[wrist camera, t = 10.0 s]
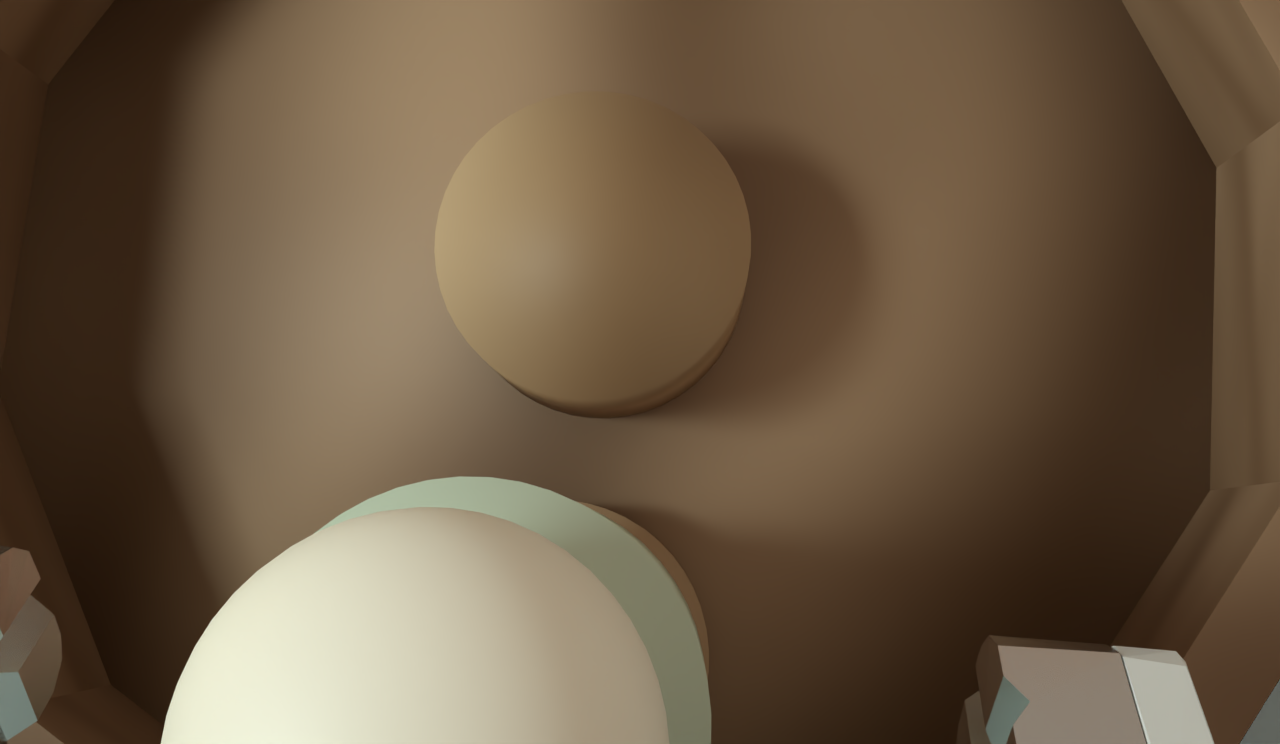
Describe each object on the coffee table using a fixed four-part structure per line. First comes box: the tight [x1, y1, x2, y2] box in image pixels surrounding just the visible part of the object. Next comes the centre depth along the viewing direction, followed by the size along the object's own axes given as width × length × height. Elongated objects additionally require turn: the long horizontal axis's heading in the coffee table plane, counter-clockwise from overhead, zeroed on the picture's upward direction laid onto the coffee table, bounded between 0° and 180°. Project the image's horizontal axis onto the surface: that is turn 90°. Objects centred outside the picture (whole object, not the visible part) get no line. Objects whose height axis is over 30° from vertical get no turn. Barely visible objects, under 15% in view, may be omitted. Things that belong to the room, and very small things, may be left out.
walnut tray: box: [0, 0, 1280, 744], centre depth 16 cm, size 19×19×3 cm
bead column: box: [161, 476, 711, 744], centre depth 11 cm, size 4×4×10 cm
